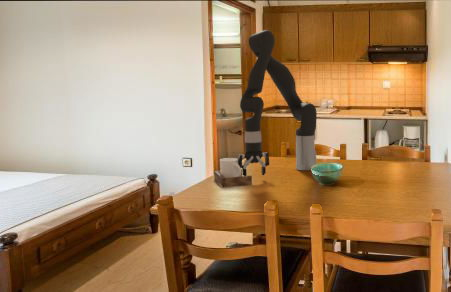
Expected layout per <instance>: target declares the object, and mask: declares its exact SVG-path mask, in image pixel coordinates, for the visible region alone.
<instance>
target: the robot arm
mask: <svg viewBox="0 0 451 292" xmlns="http://www.w3.org/2000/svg"><path fill="white" fill-rule="evenodd" d="M275 41H276V39H275V36H274V34H273V32H272V31H271V30H268V29H266V30H265V29H264V30H261V31H259V32H257V33H256V32H255V33H254V34H253V33H252V34H251V35H250V36H249V38H248V45H249V48H250V50H251V52H252V53H253V54H254V55H255V57H256V58H257V59H256V61H255V62H254V64H253V66H252V68H251V70H250V71H249V75H248V80H247V85H246V88H245V91H244V93H243V95H242V96H241V98H240V102H239V107H240V110H241V112H243V113H253V115H252V116H251V117H247V118H245V119H244V154H238V155H237V156H238V157H237V159H238V165H239V166H240V168H241V169H242V176H248V175H247V174H248V173H247V167H248V166H249V165H250V164H258V163H259V165H261V167H260V168H261V176H265V174H266V173H267V171H266V167H268V166H270V154H269V152H267V151H266V152H262V150H263V149H262V148H263V147H262V146H263V145H262V140H263V139H262V132H261V119H262V114H263V110H264V106H265V105H264V100H263V98H262V97H261V96H256V95H258V94H261V93H262V92H263V86H264V81H265V75H266V72H267V73H268V75H269V76H270V78H271V80H272V82H273V84H274V85H275V86H276V88H277V89H278V91H279V93H280V94H281V96H282V98H283V99H284V101H285V103H286V105H287V106H288V109H289V111H290V112H291V115H292V116H293V118H294V119H295V120H297V121H298V122H300V127H298V128H297V129H296V130H295V160H296V161H295V163H296V165H295V166H296V167H295V168H296V170H298V171H312V170H311V167H312V166H313V165H315V164H316V165H317V150H316V149H315V147H316V146H315V145H316V144H315V139H316V138H315V135H316V134H315V133H316V129H317V115H318V114H317V112H318V111H317V108H316V106H315V105H314V104H313V103H311V102H310V103H308V102H303V101H302V99H301V98H300V97H299V95H298V92H297V87H296V80H295V78H294V75H293V74H292V72H291V71H290V69H289V68H288V67H287V66H286V65H285V64H284V63H282V62H281V61H279V60H277V59H276V58H275V57H274V56H273V55H272V52H273V50H274V47H275V44H276V43H275ZM263 157H264V161H263V160H262V158H263ZM244 158H245V161H244V163H243V160H244Z"/></svg>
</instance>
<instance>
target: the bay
mask: <svg viewBox="0 0 451 292" xmlns="http://www.w3.org/2000/svg"><path fill="white" fill-rule="evenodd" d="M213 175H214V180H215V182H216V183H217V184H219V186H221V187H222V188H231V187H232V188H234V187H244V186H253V176H252V175H247V176H243V170H242V168H241V176H240V177H227V178H224V177H223V176H222V175H221V174H220V170H214V171H213Z"/></svg>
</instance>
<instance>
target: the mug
mask: <svg viewBox="0 0 451 292" xmlns="http://www.w3.org/2000/svg"><path fill="white" fill-rule="evenodd" d="M219 168H220V169H219V171H220V174H221V175H222V176H223V177H224V178H227V177H240V176H241V169H242V168H240V166H239V165H238V157H237V158H236V157H225V158H220V159H219Z"/></svg>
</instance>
